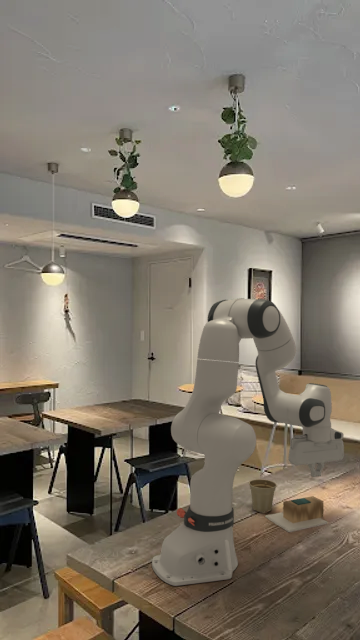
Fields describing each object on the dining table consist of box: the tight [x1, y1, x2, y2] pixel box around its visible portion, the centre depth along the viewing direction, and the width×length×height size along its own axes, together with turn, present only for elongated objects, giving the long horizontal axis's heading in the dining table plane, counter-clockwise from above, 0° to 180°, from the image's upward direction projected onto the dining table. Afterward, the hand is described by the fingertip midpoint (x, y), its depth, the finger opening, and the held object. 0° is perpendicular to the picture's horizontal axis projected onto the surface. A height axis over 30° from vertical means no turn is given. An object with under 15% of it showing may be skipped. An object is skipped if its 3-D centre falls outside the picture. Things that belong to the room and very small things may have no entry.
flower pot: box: [248, 478, 278, 513], centre depth 163 cm, size 9×9×9 cm
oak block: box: [282, 495, 325, 523], centre depth 155 cm, size 5×5×12 cm
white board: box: [265, 511, 329, 533], centre depth 154 cm, size 15×12×1 cm
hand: (315, 476), depth 157 cm, fingers closed
